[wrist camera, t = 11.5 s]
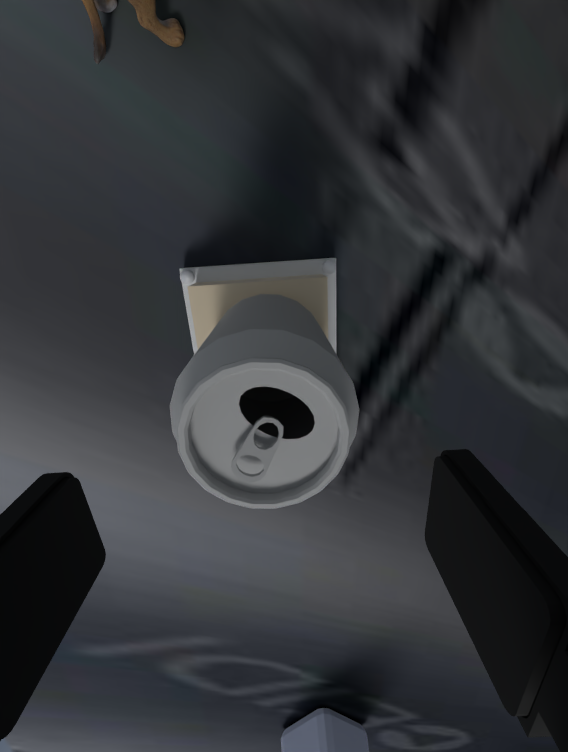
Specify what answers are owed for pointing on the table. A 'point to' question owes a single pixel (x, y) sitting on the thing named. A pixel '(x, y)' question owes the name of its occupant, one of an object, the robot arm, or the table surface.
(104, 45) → the lion figurine
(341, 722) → the soap bottle
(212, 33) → the table surface
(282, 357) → the can
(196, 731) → the table surface
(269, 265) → the tower base
